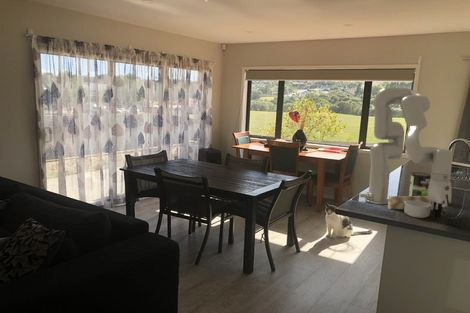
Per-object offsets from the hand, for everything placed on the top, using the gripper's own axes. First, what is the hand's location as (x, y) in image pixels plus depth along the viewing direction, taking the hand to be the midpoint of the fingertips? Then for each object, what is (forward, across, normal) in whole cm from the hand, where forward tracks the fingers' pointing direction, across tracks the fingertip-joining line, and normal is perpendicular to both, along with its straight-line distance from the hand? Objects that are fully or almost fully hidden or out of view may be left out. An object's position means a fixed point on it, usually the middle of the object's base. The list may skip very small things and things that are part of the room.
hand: (436, 217), depth 165 cm
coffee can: (+2, +38, -17) cm, 42 cm away
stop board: (+2, +20, 0) cm, 20 cm away
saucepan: (+2, +7, 0) cm, 7 cm away
